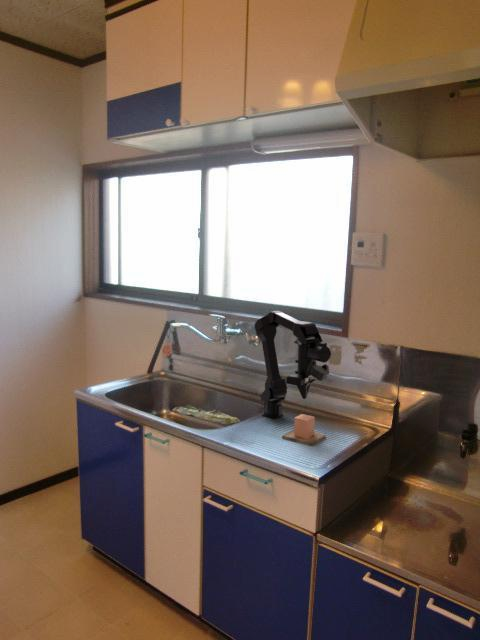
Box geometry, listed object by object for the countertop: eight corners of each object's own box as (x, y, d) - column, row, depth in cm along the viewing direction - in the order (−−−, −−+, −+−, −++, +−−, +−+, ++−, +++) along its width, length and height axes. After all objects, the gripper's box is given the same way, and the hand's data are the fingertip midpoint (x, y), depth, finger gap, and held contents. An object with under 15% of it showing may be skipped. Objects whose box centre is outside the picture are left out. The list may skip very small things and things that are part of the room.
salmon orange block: (294, 435, 178) (294, 417, 178) (301, 431, 183) (301, 413, 182) (307, 438, 175) (307, 420, 174) (314, 434, 180) (314, 416, 179)
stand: (282, 438, 179) (282, 419, 178) (296, 430, 187) (296, 411, 186) (312, 446, 172) (313, 426, 171) (325, 437, 180) (326, 418, 179)
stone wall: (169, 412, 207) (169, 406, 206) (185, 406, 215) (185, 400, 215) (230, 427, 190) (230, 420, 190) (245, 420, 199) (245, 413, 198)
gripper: (313, 364, 171) (312, 409, 173) (336, 355, 186) (335, 396, 188) (285, 360, 177) (284, 403, 180) (310, 352, 192) (308, 391, 195)
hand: (304, 398), depth 185 cm, fingers closed
